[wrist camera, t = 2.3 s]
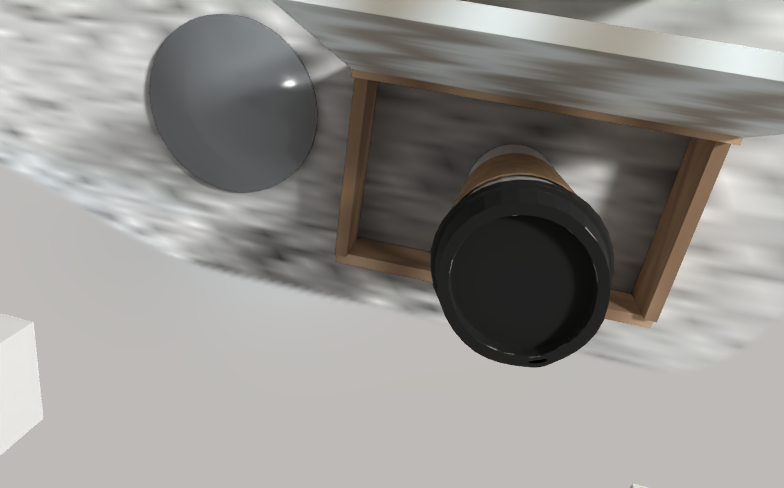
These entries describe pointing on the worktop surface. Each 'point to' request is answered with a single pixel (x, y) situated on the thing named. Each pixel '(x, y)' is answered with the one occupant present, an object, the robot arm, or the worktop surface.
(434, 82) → the frame
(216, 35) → the disc
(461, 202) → the coffee cup
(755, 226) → the worktop surface
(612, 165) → the worktop surface
